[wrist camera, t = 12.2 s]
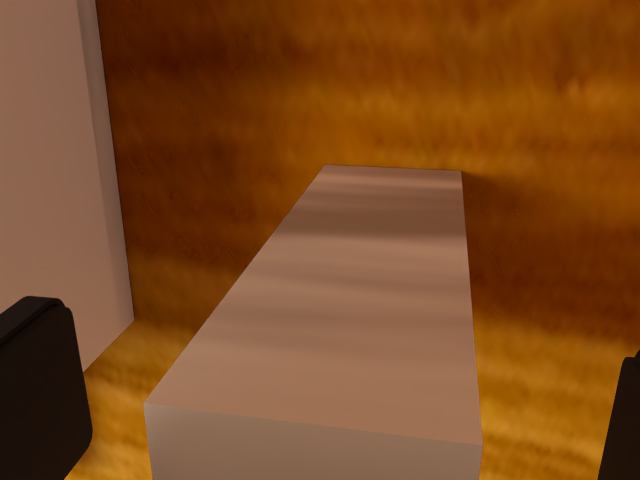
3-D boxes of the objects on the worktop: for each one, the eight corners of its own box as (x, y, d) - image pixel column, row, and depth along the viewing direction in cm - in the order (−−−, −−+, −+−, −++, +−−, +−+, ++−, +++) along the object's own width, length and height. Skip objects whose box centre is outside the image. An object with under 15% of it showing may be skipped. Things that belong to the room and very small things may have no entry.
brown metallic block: (325, 164, 18) (143, 403, 7) (461, 170, 18) (483, 445, 7) (324, 285, 20) (172, 634, 9) (450, 295, 19) (453, 689, 8)
